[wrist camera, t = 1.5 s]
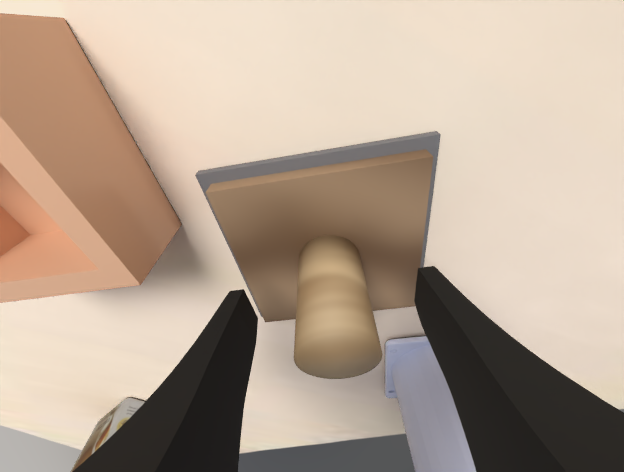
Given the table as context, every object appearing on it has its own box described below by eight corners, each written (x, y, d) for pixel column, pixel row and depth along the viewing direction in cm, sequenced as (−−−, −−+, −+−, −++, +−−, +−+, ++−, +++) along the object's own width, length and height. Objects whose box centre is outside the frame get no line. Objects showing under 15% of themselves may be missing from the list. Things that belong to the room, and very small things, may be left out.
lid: (411, 295, 16) (453, 401, 11) (266, 311, 17) (250, 416, 12) (425, 149, 10) (517, 239, 6) (211, 183, 11) (143, 286, 7)
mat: (416, 294, 16) (419, 299, 16) (262, 311, 17) (261, 316, 17) (436, 131, 10) (440, 134, 10) (198, 171, 11) (195, 174, 11)
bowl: (181, 224, 13) (140, 284, 10) (38, 245, 14) (-43, 308, 11) (63, 18, 8) (-91, 6, 5) (-146, 67, 9) (-396, 85, 6)
